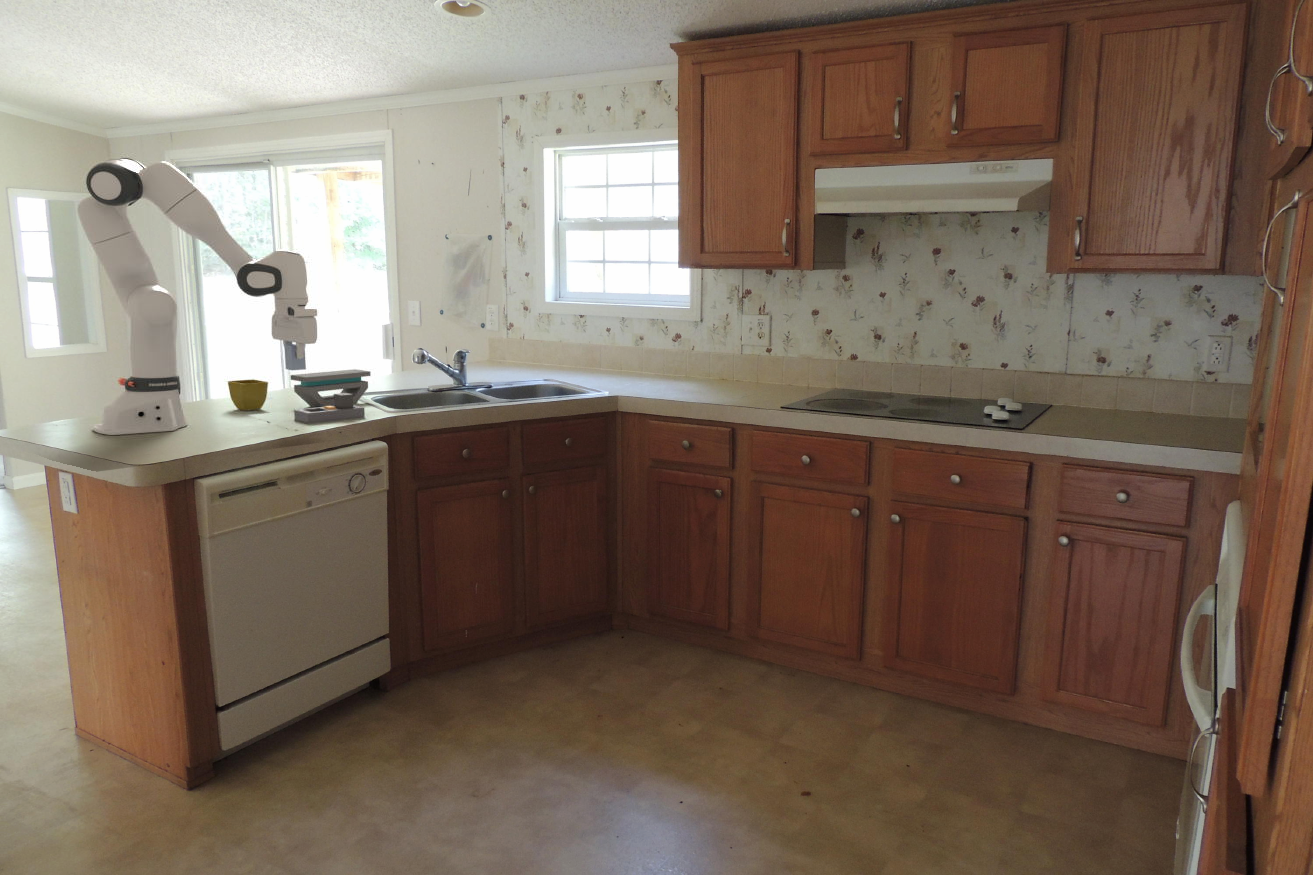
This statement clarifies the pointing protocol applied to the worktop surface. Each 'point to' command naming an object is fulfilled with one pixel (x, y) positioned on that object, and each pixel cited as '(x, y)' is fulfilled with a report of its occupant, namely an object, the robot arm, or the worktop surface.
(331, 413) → the strip
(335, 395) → the twin plug
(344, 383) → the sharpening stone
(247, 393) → the flower pot
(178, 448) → the worktop surface
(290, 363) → the plug
